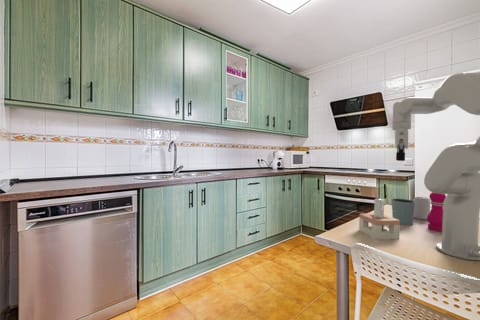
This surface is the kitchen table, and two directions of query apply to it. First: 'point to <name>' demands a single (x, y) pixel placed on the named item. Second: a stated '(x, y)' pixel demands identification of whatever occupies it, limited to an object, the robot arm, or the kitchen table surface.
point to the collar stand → (379, 226)
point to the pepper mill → (436, 212)
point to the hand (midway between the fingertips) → (400, 160)
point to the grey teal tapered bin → (403, 210)
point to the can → (421, 208)
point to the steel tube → (379, 209)
